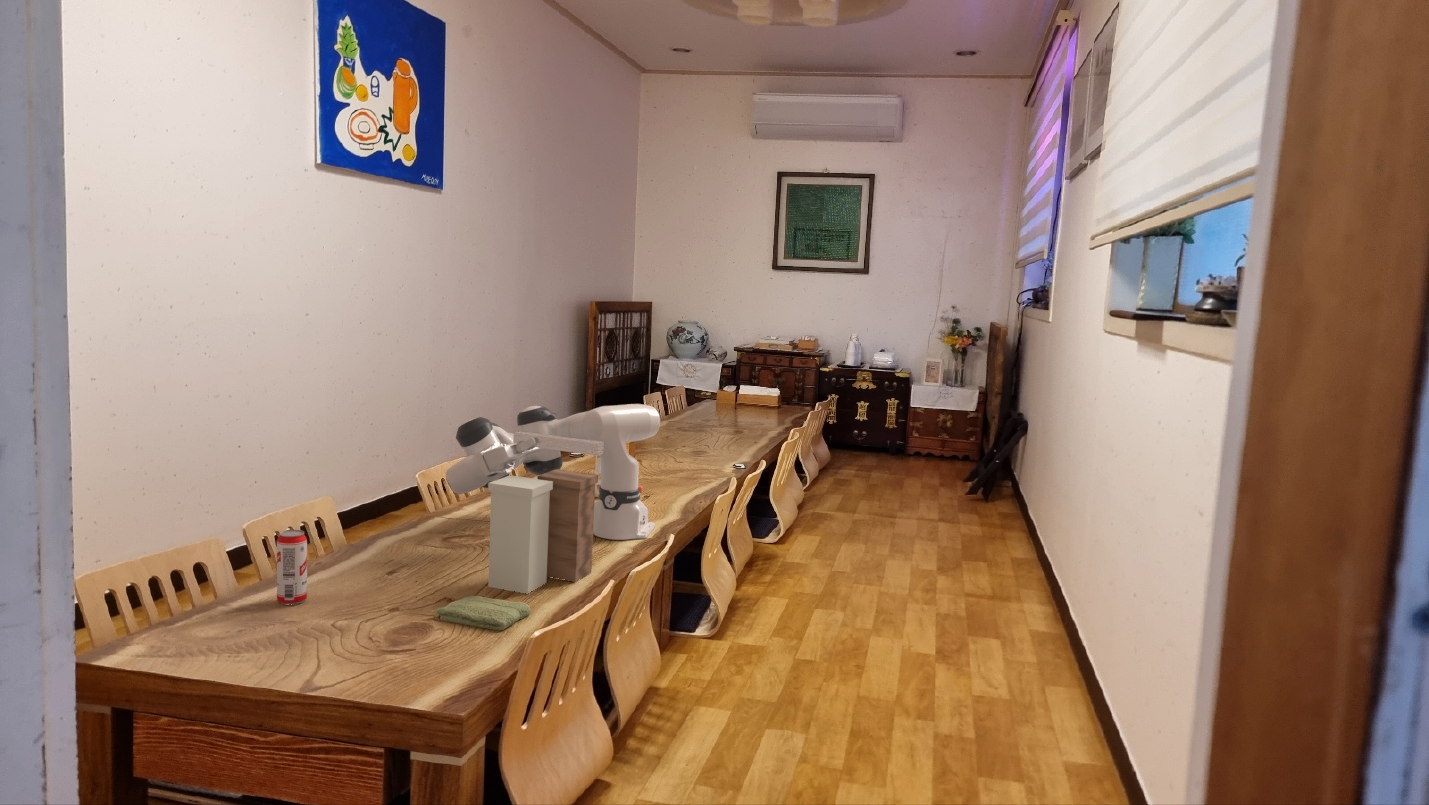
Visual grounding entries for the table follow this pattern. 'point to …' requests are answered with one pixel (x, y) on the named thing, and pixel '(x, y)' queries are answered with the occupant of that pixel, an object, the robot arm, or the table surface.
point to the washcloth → (484, 612)
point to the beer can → (291, 567)
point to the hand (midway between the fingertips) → (539, 439)
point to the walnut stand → (570, 524)
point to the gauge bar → (561, 443)
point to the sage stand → (518, 533)
